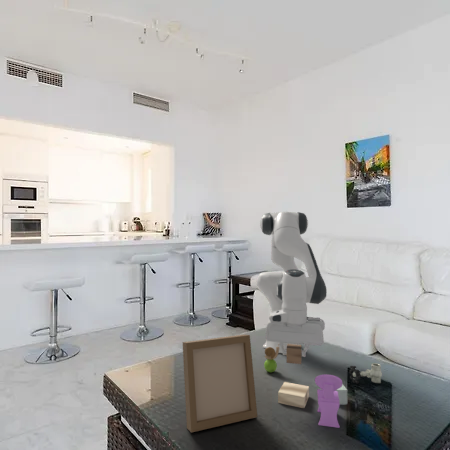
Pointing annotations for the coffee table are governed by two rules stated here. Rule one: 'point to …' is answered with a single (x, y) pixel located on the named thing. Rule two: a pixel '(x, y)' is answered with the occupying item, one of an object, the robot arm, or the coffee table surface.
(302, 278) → the robot arm
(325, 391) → the toy chair
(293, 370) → the coffee table surface
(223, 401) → the photo frame
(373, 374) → the valve
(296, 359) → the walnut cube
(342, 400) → the grey-green cube
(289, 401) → the beech block
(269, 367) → the snail figurine
